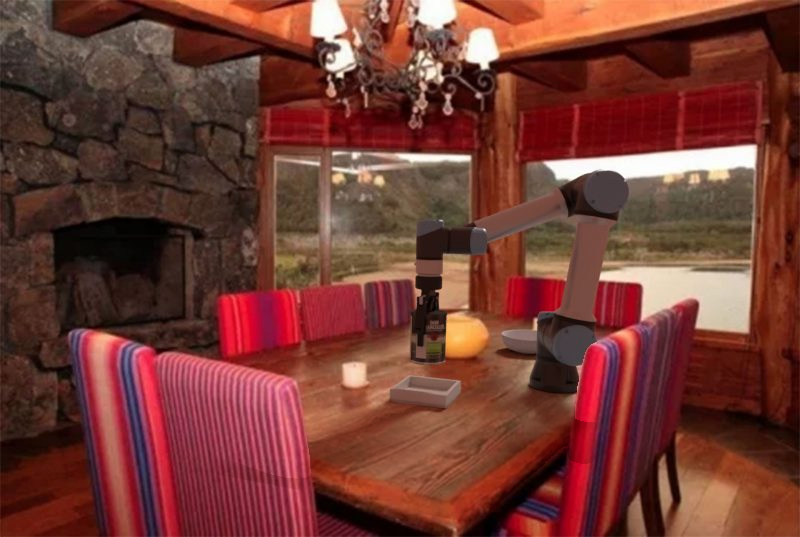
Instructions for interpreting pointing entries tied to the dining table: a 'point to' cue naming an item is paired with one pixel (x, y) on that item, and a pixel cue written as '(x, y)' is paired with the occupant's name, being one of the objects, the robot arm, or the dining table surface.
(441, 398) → the tray
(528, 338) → the serving bowl
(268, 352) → the dining table surface
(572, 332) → the robot arm
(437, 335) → the coffee can
